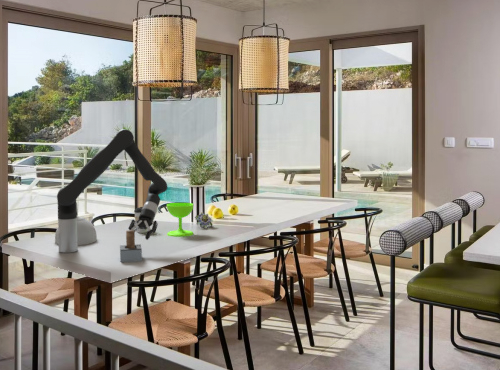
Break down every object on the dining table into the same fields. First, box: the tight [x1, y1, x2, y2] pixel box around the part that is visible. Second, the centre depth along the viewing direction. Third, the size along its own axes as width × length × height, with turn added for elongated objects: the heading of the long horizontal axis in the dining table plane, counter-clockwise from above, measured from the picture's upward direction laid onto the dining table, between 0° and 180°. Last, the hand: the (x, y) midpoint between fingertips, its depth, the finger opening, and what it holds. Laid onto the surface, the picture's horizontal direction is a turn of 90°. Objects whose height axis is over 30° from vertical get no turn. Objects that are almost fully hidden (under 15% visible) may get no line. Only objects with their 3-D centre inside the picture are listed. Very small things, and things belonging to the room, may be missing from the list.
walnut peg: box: [125, 229, 136, 248], centre depth 276 cm, size 4×4×14 cm
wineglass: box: [166, 202, 195, 238], centre depth 339 cm, size 16×16×18 cm
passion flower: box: [194, 211, 214, 230], centre depth 362 cm, size 11×11×12 cm
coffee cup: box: [133, 206, 148, 234], centre depth 347 cm, size 9×9×15 cm
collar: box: [119, 244, 143, 263], centre depth 276 cm, size 10×10×6 cm
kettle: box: [54, 201, 98, 246], centre depth 320 cm, size 25×23×22 cm
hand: (138, 238), depth 284 cm, fingers open, 8 cm apart
